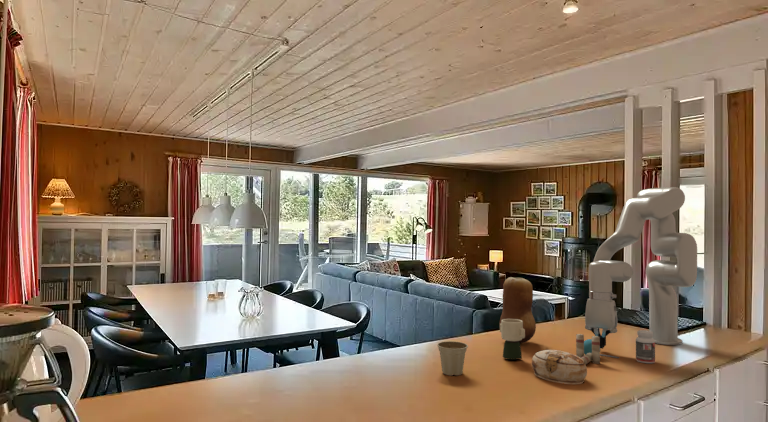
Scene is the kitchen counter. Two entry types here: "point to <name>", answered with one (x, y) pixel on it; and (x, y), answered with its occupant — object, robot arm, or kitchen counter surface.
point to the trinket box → (559, 367)
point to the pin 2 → (595, 349)
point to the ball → (588, 346)
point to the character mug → (512, 337)
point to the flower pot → (452, 357)
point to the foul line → (609, 356)
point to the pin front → (587, 358)
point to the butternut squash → (519, 304)
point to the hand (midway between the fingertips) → (601, 347)
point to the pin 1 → (579, 345)
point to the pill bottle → (645, 347)
